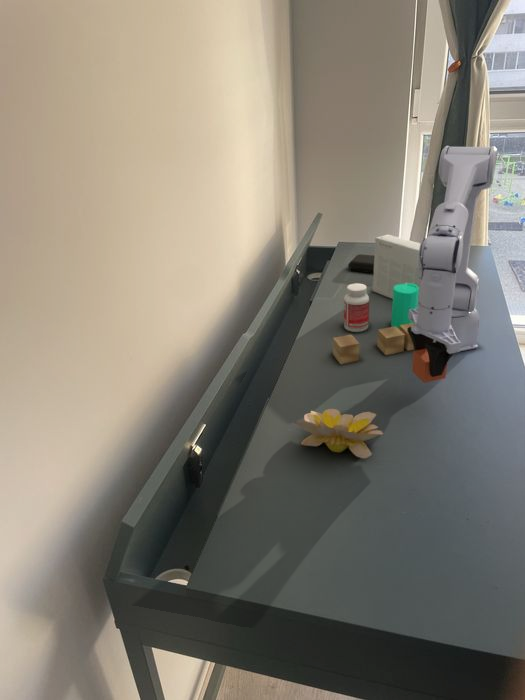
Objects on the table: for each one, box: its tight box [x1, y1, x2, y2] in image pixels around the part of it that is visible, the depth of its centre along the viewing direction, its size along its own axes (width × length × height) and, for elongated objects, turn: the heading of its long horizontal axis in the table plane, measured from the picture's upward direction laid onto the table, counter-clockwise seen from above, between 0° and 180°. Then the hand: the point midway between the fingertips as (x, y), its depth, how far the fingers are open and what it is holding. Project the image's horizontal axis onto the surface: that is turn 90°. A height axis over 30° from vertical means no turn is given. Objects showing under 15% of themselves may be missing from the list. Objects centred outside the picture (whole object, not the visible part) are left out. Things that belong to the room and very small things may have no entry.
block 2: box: [376, 326, 405, 356], centre depth 122 cm, size 4×4×4 cm
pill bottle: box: [343, 282, 370, 333], centre depth 131 cm, size 6×6×11 cm
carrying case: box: [347, 253, 375, 274], centre depth 166 cm, size 11×3×15 cm
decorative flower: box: [293, 408, 384, 459], centre depth 93 cm, size 15×11×10 cm
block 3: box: [399, 323, 415, 351], centre depth 123 cm, size 4×4×4 cm
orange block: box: [411, 349, 448, 384], centre depth 99 cm, size 4×4×4 cm
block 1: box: [332, 334, 360, 365], centre depth 120 cm, size 4×4×4 cm
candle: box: [390, 282, 419, 329], centre depth 129 cm, size 6×6×12 cm
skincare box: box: [372, 233, 421, 308], centre depth 141 cm, size 21×5×16 cm, turn 34°
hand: (429, 368), depth 99 cm, fingers closed on orange block, 4 cm apart
